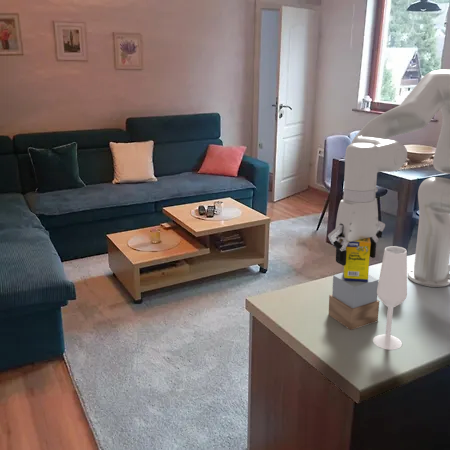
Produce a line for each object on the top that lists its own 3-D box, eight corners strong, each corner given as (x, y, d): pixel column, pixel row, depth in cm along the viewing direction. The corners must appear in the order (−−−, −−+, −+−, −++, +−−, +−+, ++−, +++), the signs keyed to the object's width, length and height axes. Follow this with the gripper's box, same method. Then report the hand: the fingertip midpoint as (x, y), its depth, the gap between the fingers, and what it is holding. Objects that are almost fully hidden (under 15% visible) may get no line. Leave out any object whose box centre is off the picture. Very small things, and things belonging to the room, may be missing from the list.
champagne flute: (385, 352, 115) (394, 257, 107) (367, 338, 120) (373, 247, 113) (408, 345, 117) (418, 252, 109) (388, 331, 123) (396, 242, 115)
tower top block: (355, 288, 133) (356, 268, 131) (376, 300, 126) (378, 279, 124) (332, 295, 130) (333, 275, 128) (352, 308, 123) (354, 287, 121)
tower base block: (354, 307, 136) (356, 287, 134) (377, 321, 128) (379, 301, 126) (328, 315, 132) (329, 295, 130) (350, 330, 124) (351, 309, 122)
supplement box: (368, 282, 123) (371, 242, 119) (343, 281, 124) (345, 240, 121) (366, 272, 129) (369, 233, 125) (343, 271, 130) (345, 232, 126)
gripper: (376, 186, 126) (371, 248, 131) (320, 196, 119) (318, 261, 124) (397, 192, 119) (392, 258, 125) (340, 203, 112) (337, 272, 118)
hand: (355, 259), depth 125 cm, fingers open, 9 cm apart
